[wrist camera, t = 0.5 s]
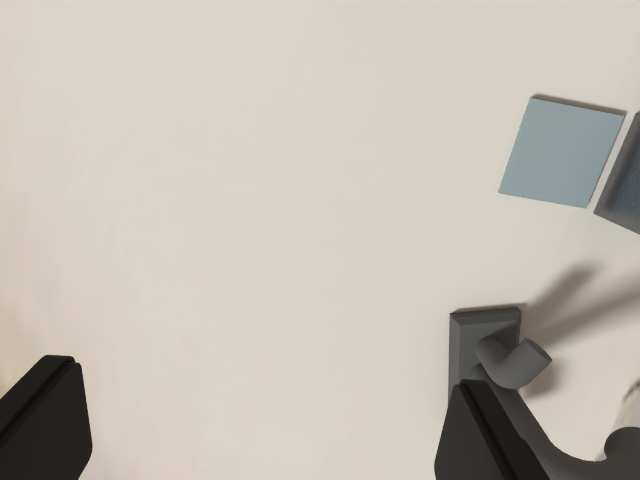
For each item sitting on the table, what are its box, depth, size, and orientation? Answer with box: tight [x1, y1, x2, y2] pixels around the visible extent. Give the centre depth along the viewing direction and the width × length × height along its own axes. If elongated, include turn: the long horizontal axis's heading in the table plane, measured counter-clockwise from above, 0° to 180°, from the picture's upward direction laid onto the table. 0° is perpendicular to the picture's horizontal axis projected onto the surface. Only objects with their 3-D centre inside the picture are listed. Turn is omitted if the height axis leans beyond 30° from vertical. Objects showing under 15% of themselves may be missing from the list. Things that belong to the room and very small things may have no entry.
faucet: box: [448, 307, 640, 480], centre depth 44 cm, size 18×16×20 cm
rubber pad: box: [499, 98, 625, 208], centre depth 44 cm, size 10×10×1 cm
